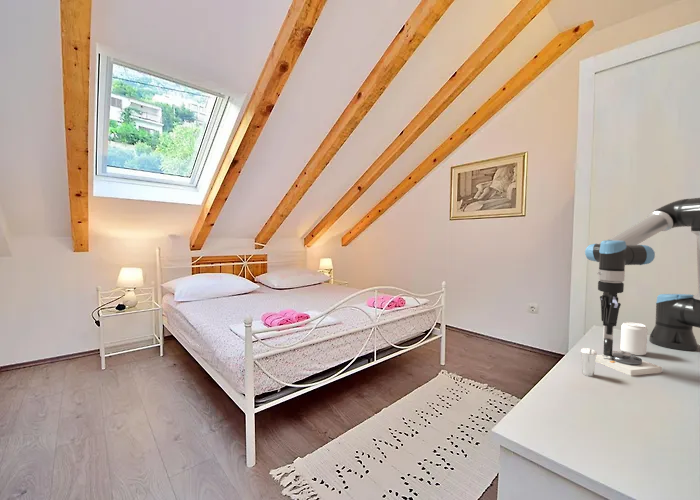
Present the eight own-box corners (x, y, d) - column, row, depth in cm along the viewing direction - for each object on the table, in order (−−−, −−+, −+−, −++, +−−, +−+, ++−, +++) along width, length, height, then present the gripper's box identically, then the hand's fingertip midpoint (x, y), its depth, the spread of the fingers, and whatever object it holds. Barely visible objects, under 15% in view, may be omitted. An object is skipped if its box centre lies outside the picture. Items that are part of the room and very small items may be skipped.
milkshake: (581, 376, 109) (582, 348, 109) (578, 370, 114) (579, 343, 114) (598, 379, 107) (599, 350, 107) (594, 373, 112) (595, 345, 111)
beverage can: (635, 349, 136) (637, 321, 136) (651, 356, 128) (653, 327, 127) (615, 348, 137) (616, 321, 136) (629, 355, 129) (631, 326, 128)
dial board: (620, 357, 127) (620, 352, 127) (661, 372, 113) (661, 366, 113) (592, 360, 124) (592, 354, 124) (630, 375, 110) (630, 369, 110)
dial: (634, 357, 121) (635, 338, 121) (647, 366, 113) (648, 346, 112) (598, 353, 125) (599, 335, 125) (608, 361, 116) (609, 342, 116)
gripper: (593, 278, 127) (590, 335, 129) (604, 283, 115) (601, 346, 117) (616, 279, 124) (613, 337, 126) (630, 284, 112) (626, 349, 114)
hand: (607, 341), depth 121 cm, fingers closed
